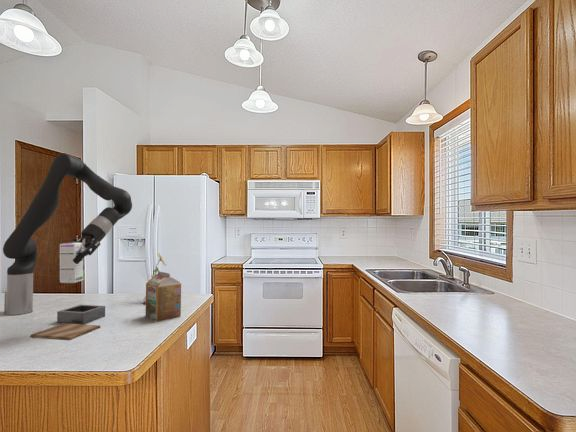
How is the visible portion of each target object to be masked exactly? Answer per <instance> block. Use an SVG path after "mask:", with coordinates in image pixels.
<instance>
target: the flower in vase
mask: <svg viewBox="0 0 576 432" xmlns="http://www.w3.org/2000/svg"><path fill="white" fill-rule="evenodd" d="M157 256H158V257H159V260H158V261H157V263H156V266H155V269H153V273H155V274H150V275H149V276H150V277H151V279H152V278H153V277H154V276H156V275H157V274H158V271H160V269H159V267H158V265H159V263H160V262H161V263H162V264H163V265H164V267H166V266H167V264H166V262H165V260H164V258H163V256H162V255H161V253H160V252H157ZM142 300H143V302H144V303H146V295H145V296H144V297H143V299H142Z"/></svg>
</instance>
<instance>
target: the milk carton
mask: <svg viewBox="0 0 576 432" xmlns="http://www.w3.org/2000/svg"><path fill="white" fill-rule="evenodd" d="M156 274H157V275H156V276H154V277H153V278H152V277H151V278H150V280H147V282H146V283H145V296H146V302H145V318H147V319H150V320H152V321H155V322H156V323H157V322H158V323H159V322H162V321H166V320H172V319H176V318H181V317H182V315H181V314H182V283H181V282H180V281H179V280H177V279H175V278H174V277H171V273H170V272H166V271H165V272H164V271H160V270H159V271H157V273H156Z"/></svg>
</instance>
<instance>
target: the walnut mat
mask: <svg viewBox="0 0 576 432" xmlns="http://www.w3.org/2000/svg"><path fill="white" fill-rule="evenodd" d="M100 328H101V325H97V324H70V323H59V324H57V325H54V326H51V327H48V328H46V329H42V330H39V331H36V332H34V333H32V334H30V337H31V338H40V339H41V338H43V339H53V340H54V339H55V340H64V341H65V340H67V341H71V340H73V339H74V340H75V339H77V338H78V337H81V336H83V335H86V334H88V333H91V332H93V331H95V330H98V329H100Z"/></svg>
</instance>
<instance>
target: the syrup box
mask: <svg viewBox="0 0 576 432" xmlns="http://www.w3.org/2000/svg"><path fill="white" fill-rule="evenodd" d="M81 245H82V243H81V242H74V243H70V242H65V243H64V242H63V243H60V244H59V258H60V260H59V283H61V284H76V283H79V282H82V281H85V257H84V258H83V259H82V260H81V261H80V262H79V263H78V264H75V263H74V262H73V259H74V258H75V257H76V256H77V255H78V254H79V253H81Z"/></svg>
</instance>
